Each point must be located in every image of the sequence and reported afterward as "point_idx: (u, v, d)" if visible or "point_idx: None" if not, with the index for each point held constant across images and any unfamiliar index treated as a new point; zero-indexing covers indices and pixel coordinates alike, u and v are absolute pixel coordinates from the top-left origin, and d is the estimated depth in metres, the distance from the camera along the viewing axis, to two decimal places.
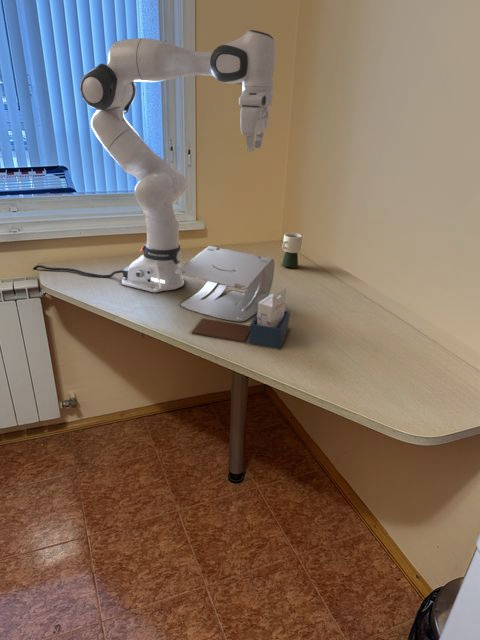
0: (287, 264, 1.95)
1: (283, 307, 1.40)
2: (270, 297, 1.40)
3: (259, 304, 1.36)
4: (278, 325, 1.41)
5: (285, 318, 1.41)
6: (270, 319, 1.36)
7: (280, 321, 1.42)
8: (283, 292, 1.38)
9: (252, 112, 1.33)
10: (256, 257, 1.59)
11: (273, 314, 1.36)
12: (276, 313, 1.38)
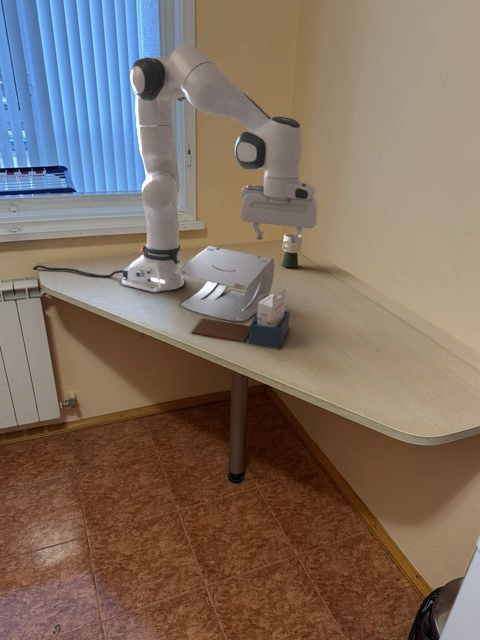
0: (287, 264, 1.95)
1: (283, 307, 1.40)
2: (270, 297, 1.40)
3: (259, 304, 1.36)
4: (278, 325, 1.41)
5: (285, 318, 1.41)
6: (270, 319, 1.36)
7: (280, 321, 1.42)
8: (283, 292, 1.38)
9: (316, 203, 1.24)
10: (256, 257, 1.59)
11: (273, 314, 1.36)
12: (276, 313, 1.38)
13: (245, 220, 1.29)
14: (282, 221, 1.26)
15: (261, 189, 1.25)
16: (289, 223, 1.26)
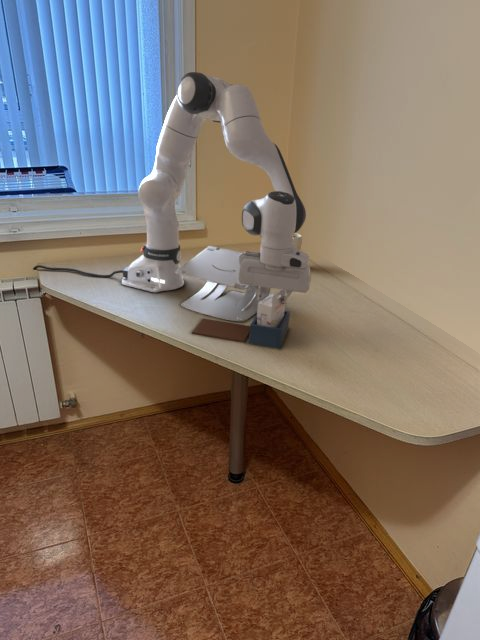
0: None
1: (283, 307, 1.40)
2: (270, 297, 1.40)
3: (259, 304, 1.36)
4: (278, 325, 1.41)
5: (285, 318, 1.41)
6: (270, 319, 1.36)
7: (280, 321, 1.42)
8: (283, 292, 1.38)
9: (309, 269, 1.32)
10: None
11: (273, 314, 1.36)
12: (276, 313, 1.38)
13: (242, 282, 1.37)
14: (277, 285, 1.34)
15: (258, 255, 1.33)
16: (284, 288, 1.34)
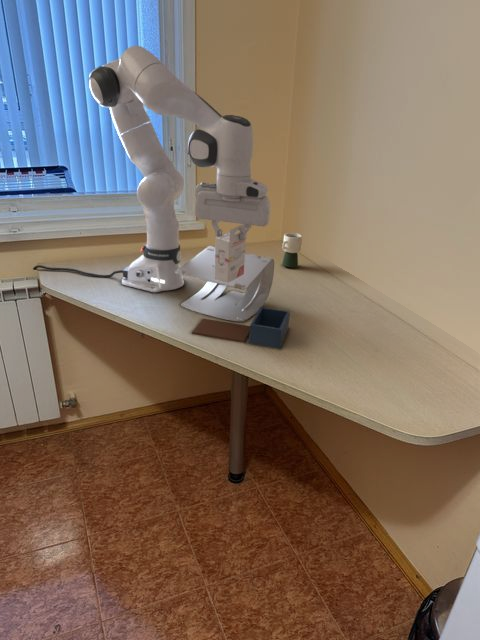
0: (287, 264, 1.95)
1: (242, 244, 1.34)
2: (229, 234, 1.33)
3: (216, 240, 1.30)
4: (238, 264, 1.35)
5: (285, 318, 1.41)
6: (228, 255, 1.30)
7: (240, 260, 1.35)
8: (242, 228, 1.31)
9: (268, 201, 1.26)
10: (256, 257, 1.59)
11: (231, 250, 1.29)
12: (235, 250, 1.31)
13: (199, 217, 1.30)
14: (235, 219, 1.27)
15: (214, 186, 1.26)
16: (242, 221, 1.27)
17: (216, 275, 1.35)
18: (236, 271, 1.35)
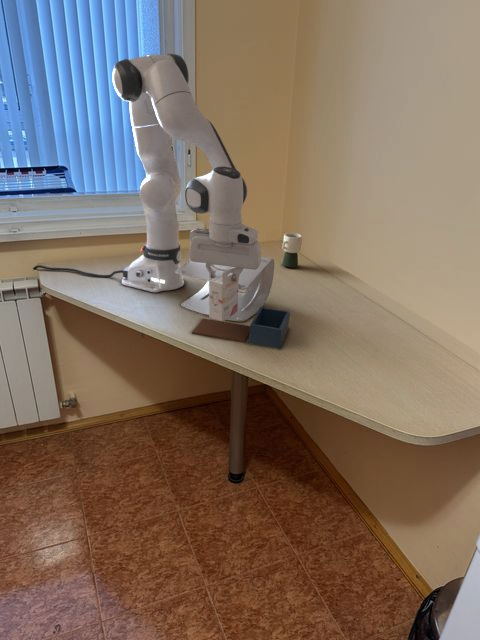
0: (287, 264, 1.95)
1: (235, 285, 1.40)
2: None
3: (210, 282, 1.36)
4: (231, 304, 1.41)
5: (285, 318, 1.41)
6: (221, 297, 1.36)
7: (234, 299, 1.41)
8: (235, 270, 1.37)
9: (259, 246, 1.32)
10: None
11: (224, 292, 1.35)
12: (228, 291, 1.37)
13: (193, 260, 1.36)
14: (227, 262, 1.33)
15: (207, 232, 1.32)
16: (234, 265, 1.33)
17: (210, 314, 1.41)
18: (229, 310, 1.41)
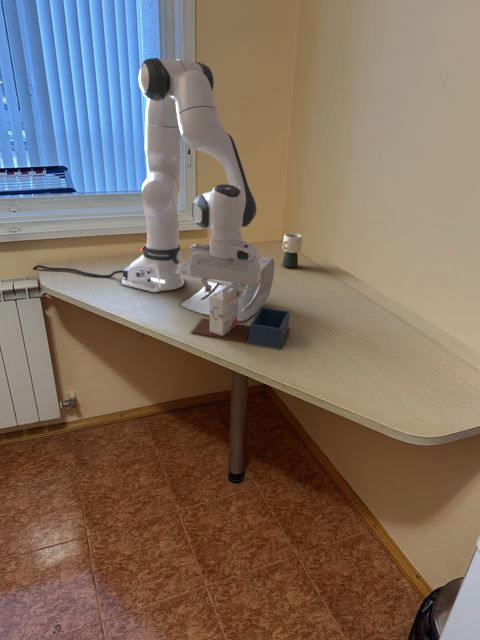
0: (287, 264, 1.95)
1: (235, 300, 1.42)
2: (223, 290, 1.42)
3: (211, 297, 1.38)
4: (231, 318, 1.43)
5: (285, 318, 1.41)
6: (222, 312, 1.38)
7: (234, 314, 1.44)
8: (235, 285, 1.40)
9: (258, 262, 1.34)
10: None
11: (224, 307, 1.38)
12: (228, 306, 1.40)
13: (193, 275, 1.38)
14: (227, 278, 1.35)
15: (207, 248, 1.34)
16: (233, 280, 1.35)
17: (210, 328, 1.43)
18: (229, 324, 1.43)
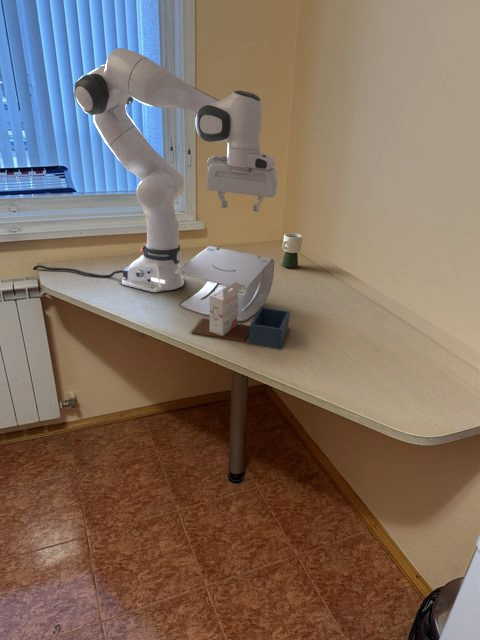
0: (287, 264, 1.95)
1: (235, 300, 1.42)
2: (223, 290, 1.42)
3: (211, 297, 1.38)
4: (231, 318, 1.43)
5: (285, 318, 1.41)
6: (222, 312, 1.38)
7: (234, 314, 1.44)
8: (235, 285, 1.40)
9: (276, 173, 1.33)
10: (256, 257, 1.59)
11: (224, 307, 1.38)
12: (228, 306, 1.40)
13: (210, 189, 1.37)
14: (244, 190, 1.35)
15: (225, 159, 1.34)
16: (251, 192, 1.35)
17: (210, 328, 1.43)
18: (229, 324, 1.43)
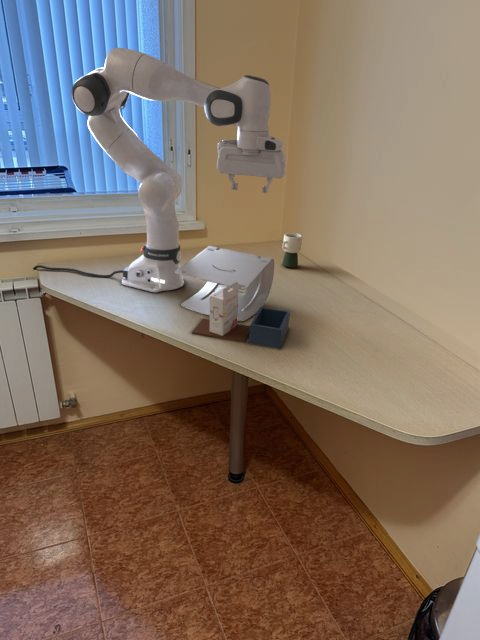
0: (287, 264, 1.95)
1: (235, 300, 1.42)
2: (223, 290, 1.42)
3: (211, 297, 1.38)
4: (231, 318, 1.43)
5: (285, 318, 1.41)
6: (222, 312, 1.38)
7: (234, 314, 1.44)
8: (235, 285, 1.40)
9: (284, 155, 1.39)
10: (256, 257, 1.59)
11: (224, 307, 1.38)
12: (228, 306, 1.40)
13: (221, 171, 1.43)
14: (254, 172, 1.40)
15: (235, 142, 1.39)
16: (260, 174, 1.40)
17: (210, 328, 1.43)
18: (229, 324, 1.43)
